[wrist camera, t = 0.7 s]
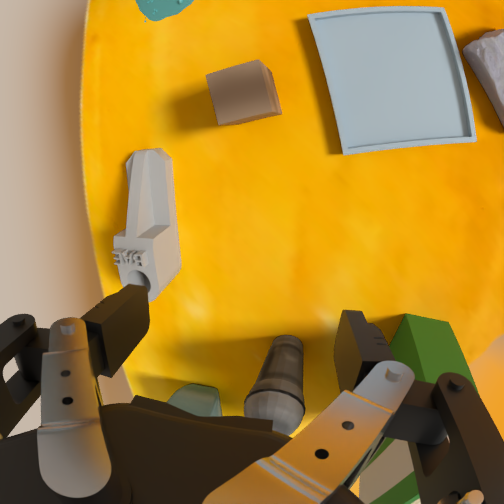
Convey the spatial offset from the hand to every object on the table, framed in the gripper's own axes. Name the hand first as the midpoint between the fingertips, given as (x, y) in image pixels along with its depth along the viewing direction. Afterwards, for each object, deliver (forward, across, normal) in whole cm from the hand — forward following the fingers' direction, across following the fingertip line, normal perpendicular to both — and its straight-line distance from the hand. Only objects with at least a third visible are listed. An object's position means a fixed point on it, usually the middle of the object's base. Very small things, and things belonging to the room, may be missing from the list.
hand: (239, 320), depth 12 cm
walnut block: (+23, +3, -14) cm, 27 cm away
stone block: (+19, -27, -22) cm, 40 cm away
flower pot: (+31, +9, +34) cm, 47 cm away
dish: (+21, -12, -18) cm, 30 cm away
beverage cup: (+27, -4, +19) cm, 33 cm away
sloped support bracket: (+27, +15, +1) cm, 31 cm away
